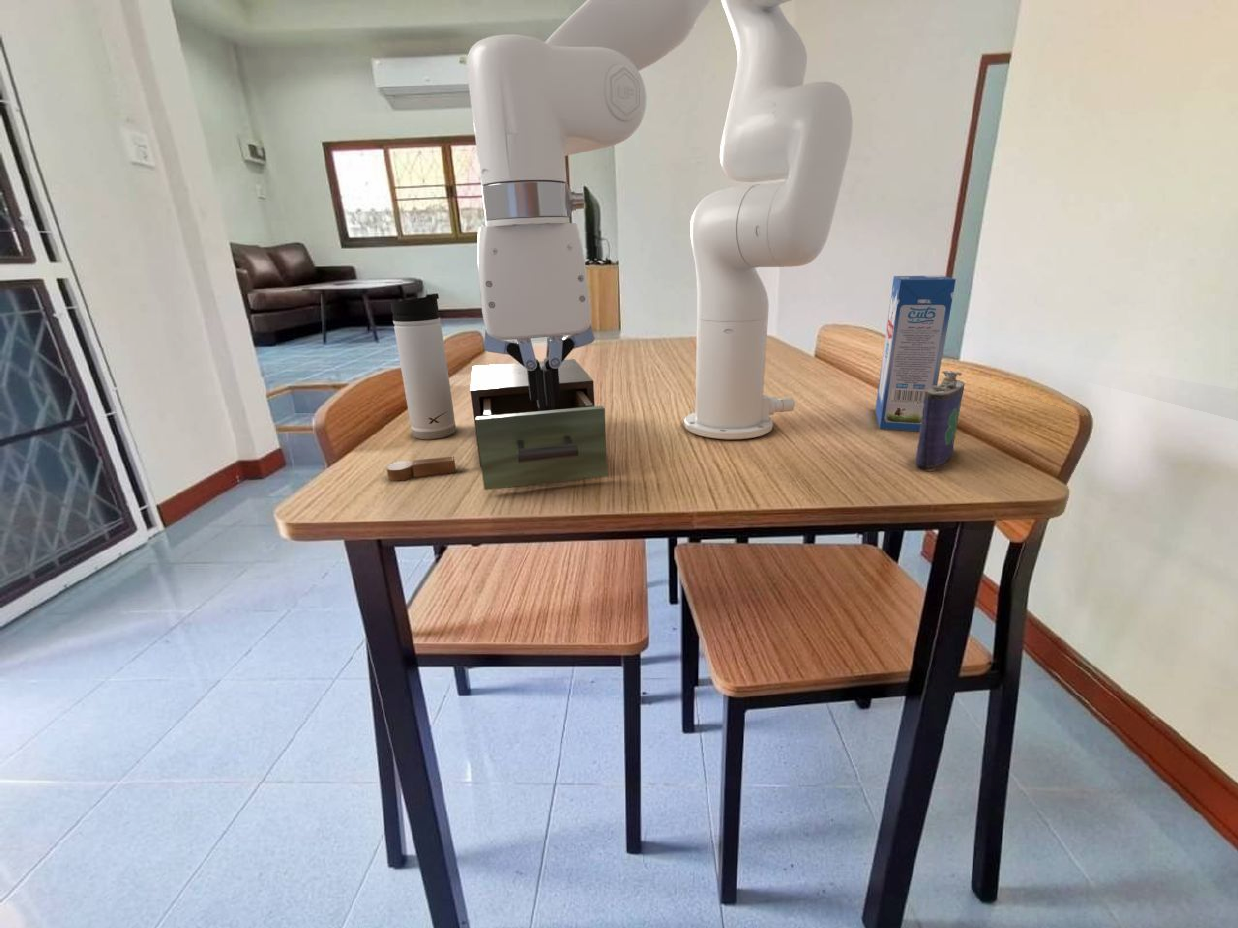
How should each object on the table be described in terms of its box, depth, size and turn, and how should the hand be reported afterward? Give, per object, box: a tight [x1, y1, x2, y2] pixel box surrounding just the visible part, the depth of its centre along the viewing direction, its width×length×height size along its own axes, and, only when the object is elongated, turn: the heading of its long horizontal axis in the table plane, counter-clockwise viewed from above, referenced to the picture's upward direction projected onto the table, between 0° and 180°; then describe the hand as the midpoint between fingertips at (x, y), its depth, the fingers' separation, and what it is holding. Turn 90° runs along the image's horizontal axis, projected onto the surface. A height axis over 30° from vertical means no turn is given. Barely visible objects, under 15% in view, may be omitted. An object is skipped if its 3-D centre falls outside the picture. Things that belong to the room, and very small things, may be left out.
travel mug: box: [390, 292, 457, 440], centre depth 80 cm, size 6×7×20 cm
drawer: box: [475, 389, 608, 491], centre depth 65 cm, size 20×14×8 cm
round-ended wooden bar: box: [385, 456, 456, 482], centre depth 68 cm, size 8×3×2 cm, turn 103°
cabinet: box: [469, 358, 596, 468], centre depth 76 cm, size 16×15×10 cm
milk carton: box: [875, 274, 957, 432], centre depth 79 cm, size 10×6×20 cm, turn 160°
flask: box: [913, 370, 965, 472], centre depth 65 cm, size 9×3×11 cm, turn 138°
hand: (546, 405), depth 57 cm, fingers closed
